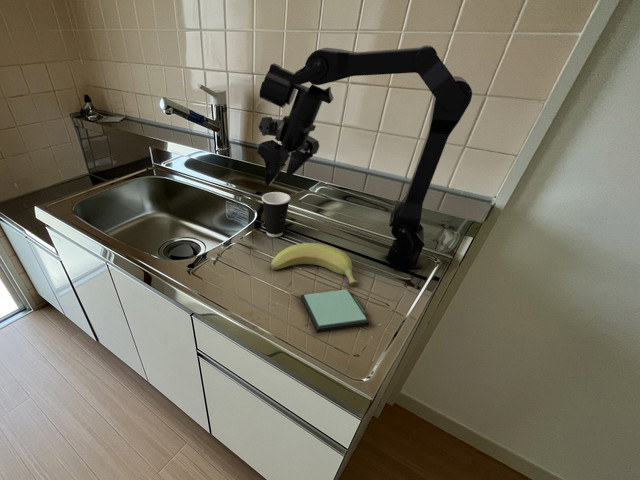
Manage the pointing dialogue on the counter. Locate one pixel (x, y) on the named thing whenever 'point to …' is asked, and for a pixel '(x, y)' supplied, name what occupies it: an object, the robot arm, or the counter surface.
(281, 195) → the dixie cup
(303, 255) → the banana
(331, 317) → the scale
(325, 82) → the robot arm
